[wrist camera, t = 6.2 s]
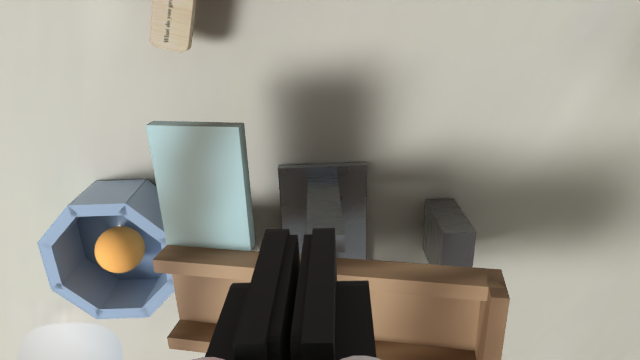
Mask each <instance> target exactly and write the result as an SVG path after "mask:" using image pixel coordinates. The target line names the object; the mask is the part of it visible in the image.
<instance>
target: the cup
mask: <svg viewBox="0 0 640 360" xmlns="http://www.w3.org/2000/svg"><path fill="white" fill-rule="evenodd" d="M116 226H126V227H130V228H132V229H134V230H136V231H137V232H138V233H139V234H140V235H141V236H142V238H143V240H144V243H145V253H144V257H143V259H142V260H141V262H140V263H139V264H138V265H137V266H136V267H135V268H134V269H132V270H130V271H128V272H124V273H113V272H109V271H107V270H105V269H104V268H102V267H101V266H100V265H99V263H98V262H97V260H96V257H95V244H96V242H97V240H98V238H99V237H100V236H101V234H102V233H104V232H105V231H106V230H108V229H110V228H113V227H116ZM166 245H167V244H166V238H165V232H164V226H163V221H162V215H161V209H160V204H159V198H158V192H157V187H156V186H155V185H154V184H152V183H151V182H150V181H148V180H146V179H136V180H107V181H95V182H94V183H93V184H91V185H90V186H89V187H88V188H87V189H86V190H85V191H84V192H82V193H81V194H80V195H79V196H78V197H77V198H76V199H74V200H73V201H72V202H71V203H70V204H69V205H68V206H67V207H66V208H65V209H64V211H63V212H62V213H61V214H60V215H59V217H58V218H57V219H56V220H55V222H54V223H53V224H52V225H51V226H50V228H49V229H48V230H47V231H46V233H45V234H44V235H43V236H42V237H41V239H40V240H39V241H38V247H39V250H40V253H41V257H42V260H43V264H44V267H45V270H46V274H47V277H48V281H49V284H50V288H51V289H52V290H53V291H54V292H56V293H57V294H59V295H60V296H62V297H63V298H65V299H66V300H68V301H70V302H71V303H73V304H74V305H76V306H77V307H79V308H80V309H82V310H83V311H85V312H87V313H88V314H90V315H91V316H93V317H94V318H96V319H116V318H145V317H150V316H151V315H152V314H153V313H154V312H155V311H156V310H157V309H158V308H159V307H160V305H161V304H162V303H163V302H164V301H165V300H166V299H167V298H168V297H169V296H170V295H171V294H172V293H173V292H174V291H175V289H174V283H173V278H172V274H166V273H155V271H154V266H153V261H152V260H153V259H154V258H155V257H156V255H157V254H158V253H159V252H160V251H161V250H162V249H163V248H164V247H165V246H166Z"/></svg>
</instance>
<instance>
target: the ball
mask: <svg viewBox="0 0 640 360" xmlns="http://www.w3.org/2000/svg"><path fill="white" fill-rule="evenodd" d="M144 253H145V243H144V240H143V238H142V236H141V235H140V234H139V233H138V232H137V231H136V230H134V229H132V228H130V227H126V226H116V227H113V228H110V229H108V230H106V231H105V232H104V233H102V234H101V236H100V237H99V238H98V240H97V242H96V244H95V257H96V260H97V262H98V263H99V265H100V266H101V267H102V268H104V269H105V270H107V271H109V272H113V273H124V272H128V271H130V270H132V269H134V268H135V267H136V266H137V265H138V264H139V263H140V262H141V260H142V259H143V257H144Z"/></svg>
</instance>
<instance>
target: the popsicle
mask: <svg viewBox="0 0 640 360" xmlns="http://www.w3.org/2000/svg"><path fill="white" fill-rule="evenodd" d="M195 8H196V0H153V6H152V18H151V30H150V42H151V44H152V45H153V46H155V47H159V48H163V49H168V50H173V51H177V52H185V51H187V50H189V49H190V47H191V43H192V34H193V25H194V17H195Z"/></svg>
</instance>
